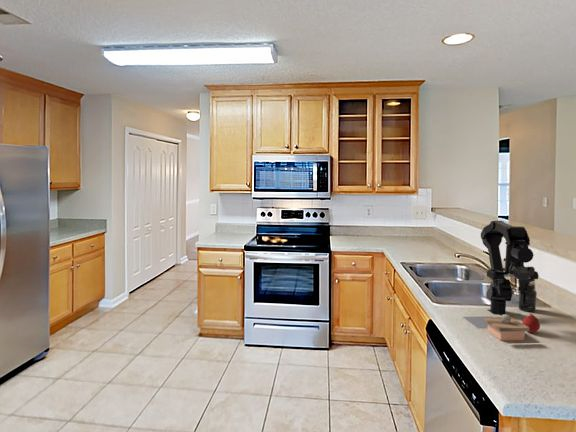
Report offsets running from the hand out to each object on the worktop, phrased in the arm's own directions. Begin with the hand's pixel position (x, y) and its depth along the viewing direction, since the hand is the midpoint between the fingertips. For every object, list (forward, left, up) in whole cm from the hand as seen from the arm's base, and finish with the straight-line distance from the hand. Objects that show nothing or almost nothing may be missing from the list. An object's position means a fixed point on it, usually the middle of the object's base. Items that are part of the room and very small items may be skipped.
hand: (510, 294), depth 171 cm
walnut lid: (+14, -10, -8) cm, 19 cm away
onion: (+11, +2, -12) cm, 16 cm away
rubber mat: (0, -10, -12) cm, 16 cm away
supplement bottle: (-16, +18, -12) cm, 27 cm away
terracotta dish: (+14, -10, -12) cm, 21 cm away
